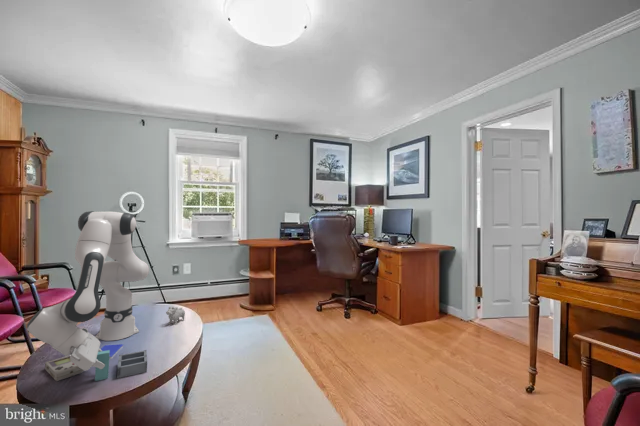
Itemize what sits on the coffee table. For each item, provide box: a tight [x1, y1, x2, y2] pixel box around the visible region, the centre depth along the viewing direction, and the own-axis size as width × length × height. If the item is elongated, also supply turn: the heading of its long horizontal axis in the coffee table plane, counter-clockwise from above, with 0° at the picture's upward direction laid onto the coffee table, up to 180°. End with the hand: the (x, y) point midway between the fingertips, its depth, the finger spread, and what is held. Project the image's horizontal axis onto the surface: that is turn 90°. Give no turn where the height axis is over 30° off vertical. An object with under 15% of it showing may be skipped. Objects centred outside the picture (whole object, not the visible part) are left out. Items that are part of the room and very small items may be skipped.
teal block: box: [94, 350, 110, 382], centre depth 112 cm, size 2×4×10 cm, turn 123°
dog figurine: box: [165, 306, 186, 326], centre depth 170 cm, size 5×13×11 cm, turn 167°
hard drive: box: [100, 344, 124, 360], centre depth 132 cm, size 2×8×12 cm
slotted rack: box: [116, 349, 148, 379], centre depth 120 cm, size 12×10×4 cm
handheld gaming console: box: [44, 355, 85, 382], centre depth 116 cm, size 9×4×15 cm
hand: (104, 362), depth 112 cm, fingers open, 6 cm apart
